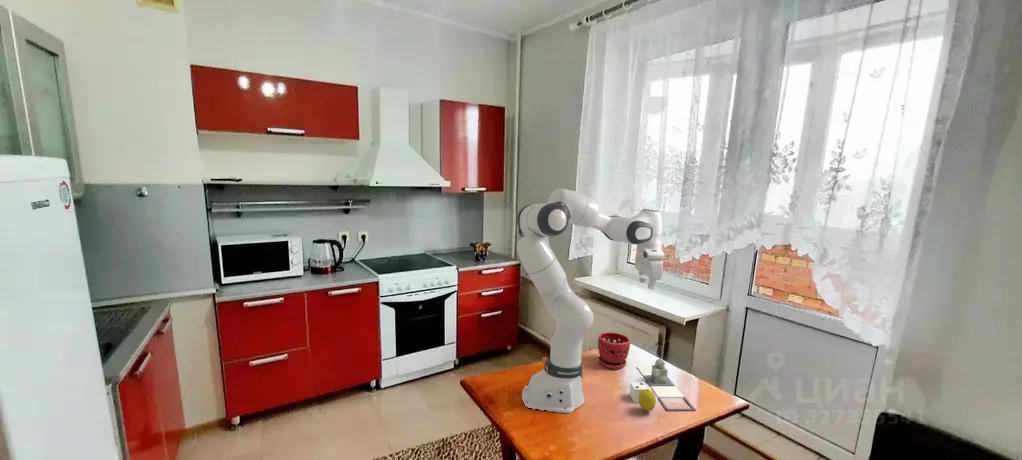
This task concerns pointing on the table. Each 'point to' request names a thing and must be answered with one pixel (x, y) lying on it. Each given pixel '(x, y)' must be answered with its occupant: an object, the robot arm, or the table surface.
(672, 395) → the board
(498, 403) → the table surface
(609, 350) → the plant pot
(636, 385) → the die
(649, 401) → the lemon
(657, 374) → the pawn
